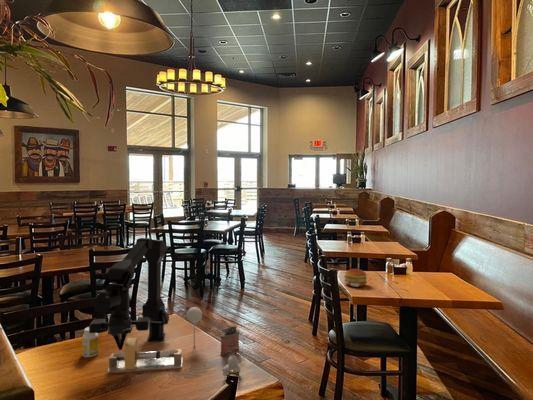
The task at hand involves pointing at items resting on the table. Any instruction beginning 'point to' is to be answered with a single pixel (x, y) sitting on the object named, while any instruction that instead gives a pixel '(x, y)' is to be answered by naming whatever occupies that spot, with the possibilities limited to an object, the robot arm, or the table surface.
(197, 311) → the lollipop
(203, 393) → the table surface
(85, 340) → the supplement bottle
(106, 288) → the robot arm
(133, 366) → the tan wooden block
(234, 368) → the rubber duck
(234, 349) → the lighter
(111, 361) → the grey piece
